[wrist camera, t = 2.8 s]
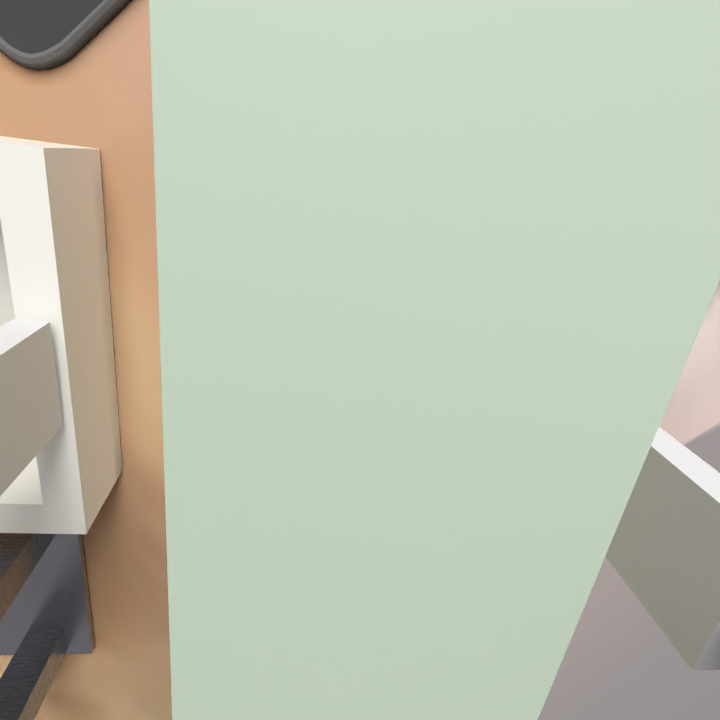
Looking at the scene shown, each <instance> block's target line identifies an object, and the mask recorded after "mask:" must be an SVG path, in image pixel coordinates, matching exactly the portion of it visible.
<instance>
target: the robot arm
mask: <svg viewBox="0 0 720 720" xmlns="http://www.w3.org/2000/svg"><path fill="white" fill-rule="evenodd" d="M61 427H62V418H61V410H60V402H59V393H58V385H57V377H56V369H55V360H54V352H53V344H52V336H51V327H50V322H45V321H32V320H19V319H13V320H11V321H9V322H8V323H6V324H4V325H2V326H1V327H0V496H1V495H2V494H3V493H4V492H5V491H6V490H7V488H8V487H9V486H10V485H11V484H12V483H13V482H14V480H15V479H16V478H17V477H18V476H19V475H20V474H21V472H22V471H23V470H24V469H25V468H26V467H27V466H28V464H29V463H30V462H31V461H32V460H33V459H34V458H35V456H36V455H37V454H38V453H39V452H40V451H41V450H42V448H43V447H44V446H45V445H46V444H47V443H48V442H49V440H50V439H51V438H52V437H53V436H54V435H55V434H56V432H57V431H58V430H59V429H60V428H61ZM606 558H607V559H608V560H609V561H610V563H611V564H612V565H613V567H614V568H615V569H616V571H617V572H618V573H619V575H620V576H621V577H622V579H623V580H624V581H625V583H626V584H627V585H628V587H629V588H630V589H631V591H632V592H633V593H634V595H635V596H636V597H637V599H638V600H639V601H640V602H641V604H642V605H643V606H644V608H645V609H646V610H647V612H648V613H649V614H650V616H651V617H652V618H653V620H654V621H655V622H656V624H657V625H658V626H659V627H660V629H661V630H662V631H663V633H664V634H665V635H666V637H667V638H668V639H669V641H670V642H671V643H672V645H673V646H674V647H675V649H676V650H677V651H678V653H679V654H680V655H681V657H682V658H683V659H684V661H685V662H686V663H687V665H688V666H689V667H690V668H691V670H719V669H720V473H719V472H718V471H716V470H715V469H713V468H712V467H711V466H709V465H708V464H707V463H705V462H704V461H703V460H702V459H700V458H699V457H698V456H696V455H695V454H694V453H692V452H691V451H690V450H689V449H687V448H686V447H685V446H683V445H682V444H681V443H680V442H678V441H677V440H676V439H674V438H673V437H672V436H670V435H669V434H668V433H666V432H665V431H664V430H662V429H661V428H660V427H659V428H658V430H657V433H656V435H655V437H654V440H653V442H652V445H651V447H650V450H649V452H648V454H647V457H646V459H645V462H644V464H643V466H642V469H641V471H640V474H639V476H638V478H637V481H636V483H635V486H634V488H633V491H632V493H631V495H630V498H629V500H628V503H627V505H626V507H625V510H624V512H623V515H622V517H621V519H620V522H619V524H618V527H617V529H616V532H615V534H614V536H613V539H612V541H611V544H610V546H609V548H608V551H607V553H606Z"/></svg>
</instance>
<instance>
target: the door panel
mask: <svg viewBox="0 0 720 720" xmlns="http://www.w3.org/2000/svg"><path fill="white" fill-rule="evenodd" d="M149 10H150V41H151V72H152V104H153V135H154V166H155V198H156V229H157V260H158V292H159V323H160V354H161V386H162V417H163V448H164V480H165V511H166V542H167V574H168V605H169V636H170V668H171V699H172V720H537V719H538V717H539V715H540V712H541V710H542V708H543V705H544V703H545V700H546V698H547V695H548V693H549V691H550V688H551V686H552V683H553V681H554V679H555V676H556V674H557V671H558V669H559V666H560V664H561V662H562V659H563V657H564V654H565V652H566V650H567V647H568V645H569V642H570V640H571V638H572V635H573V633H574V630H575V628H576V626H577V623H578V621H579V618H580V616H581V614H582V611H583V609H584V606H585V604H586V601H587V599H588V597H589V594H590V592H591V589H592V587H593V584H594V582H595V580H596V577H597V575H598V572H599V570H600V568H601V565H602V563H603V560H604V558H605V556H606V553H607V551H608V548H609V546H610V544H611V541H612V539H613V536H614V534H615V532H616V529H617V527H618V524H619V522H620V519H621V517H622V515H623V512H624V510H625V507H626V505H627V503H628V500H629V498H630V495H631V493H632V491H633V488H634V486H635V483H636V481H637V478H638V476H639V474H640V471H641V469H642V466H643V464H644V462H645V459H646V457H647V454H648V452H649V450H650V447H651V445H652V442H653V440H654V437H655V435H656V433H657V430H658V428H659V425H660V423H661V421H662V418H663V416H664V413H665V411H666V409H667V406H668V404H669V401H670V399H671V396H672V394H673V392H674V389H675V387H676V384H677V382H678V380H679V377H680V375H681V372H682V370H683V368H684V365H685V363H686V360H687V358H688V355H689V353H690V351H691V348H692V346H693V343H694V341H695V339H696V336H697V334H698V331H699V329H700V327H701V324H702V322H703V319H704V317H705V314H706V312H707V310H708V307H709V305H710V302H711V300H712V298H713V295H714V293H715V290H716V288H717V286H718V283H719V281H720V0H149Z"/></svg>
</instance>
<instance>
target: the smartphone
mask: <svg viewBox="0 0 720 720" xmlns="http://www.w3.org/2000/svg"><path fill="white" fill-rule="evenodd" d="M131 1H132V0H0V51H1V52H3V53H4V54H5V55H6V56H7V57H9V58H10V59H11V60H13V61H15V62H16V63H18V64H20V65H22V66H24V67H26V68H28V69H33V70H38V71H39V70H47V69H53V68H55V67H58V66H60V65H63V64H64V63H66V62H67V61H69V60H71V59H72V58H73V57H74V56H75V55H76V54H77V53H78V52H79V51H80V50H81V49H82V48H84V47H85V46H86V45H87V44H88V43H89V42H90V41H91V40H92V39H93V38H94V37H95V36H96V35H97V34H98V33H99V32H100V31H101V30H102V29H103V28H104V27H105V26H106V25H107V24H108V23H109V22H110V21H111V20H112V19H113V18H114V17H115V16H117V15H118V14H119V13H120V12H121V11H122V10H123V9H124V8H125V7H126V6H127V5H128V4H129V3H130V2H131Z"/></svg>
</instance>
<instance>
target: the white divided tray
mask: <svg viewBox="0 0 720 720" xmlns="http://www.w3.org/2000/svg"><path fill="white" fill-rule="evenodd" d="M13 319H19V320H32V321H45V322H50V327H51V336H52V344H53V352H54V360H55V369H56V377H57V385H58V393H59V402H60V410H61V418H62V427H61V428H60V429H59V430H58V431H57V432H56V434H55V435H54V436H53V437H52V438H51V439H50V440H49V442H48V443H47V444H46V445H45V446H44V447H43V448H42V450H41V451H40V452H39V453H38V454H37V455H36V456H35V458H34V459H33V460H32V461H31V462H30V463H29V464H28V466H27V467H26V468H25V469H24V470H23V471H22V472H21V474H20V475H19V476H18V477H17V478H16V479H15V480H14V482H13V483H12V484H11V485H10V486H9V487H8V488H7V490H6V491H5V492H4V493H3V494H2V495H1V496H0V533H37V534H87V532H88V530H89V529H90V527H91V525H92V523H93V522H94V520H95V518H96V516H97V514H98V513H99V511H100V509H101V507H102V506H103V504H104V502H105V500H106V498H107V497H108V495H109V493H110V491H111V490H112V488H113V486H114V484H115V482H116V481H117V479H118V477H119V475H120V474H121V472H122V458H121V444H120V430H119V416H118V402H117V387H116V373H115V359H114V345H113V331H112V317H111V303H110V289H109V275H108V261H107V247H106V233H105V219H104V204H103V190H102V176H101V162H100V149H97V148H89V147H81V146H74V145H66V144H58V143H51V142H43V141H35V140H28V139H20V138H12V137H5V136H0V327H1V326H2V325H4V324H6V323H8V322H9V321H11V320H13Z"/></svg>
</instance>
